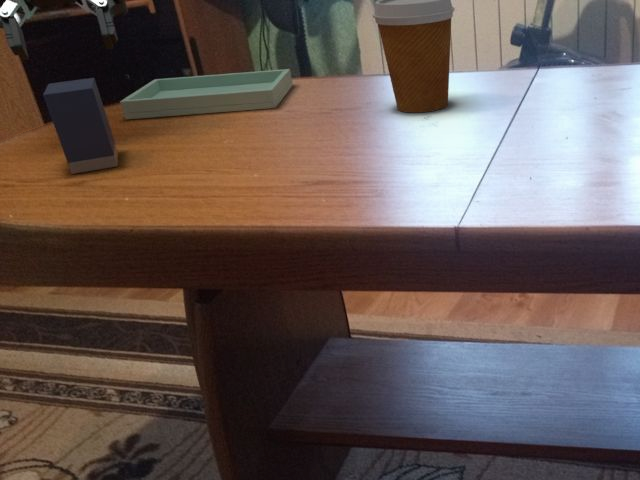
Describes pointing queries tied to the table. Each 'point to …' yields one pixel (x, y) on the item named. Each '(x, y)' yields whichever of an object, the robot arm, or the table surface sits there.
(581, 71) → the table surface
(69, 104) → the eraser
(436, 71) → the disposable coffee cup
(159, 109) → the tray
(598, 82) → the table surface
